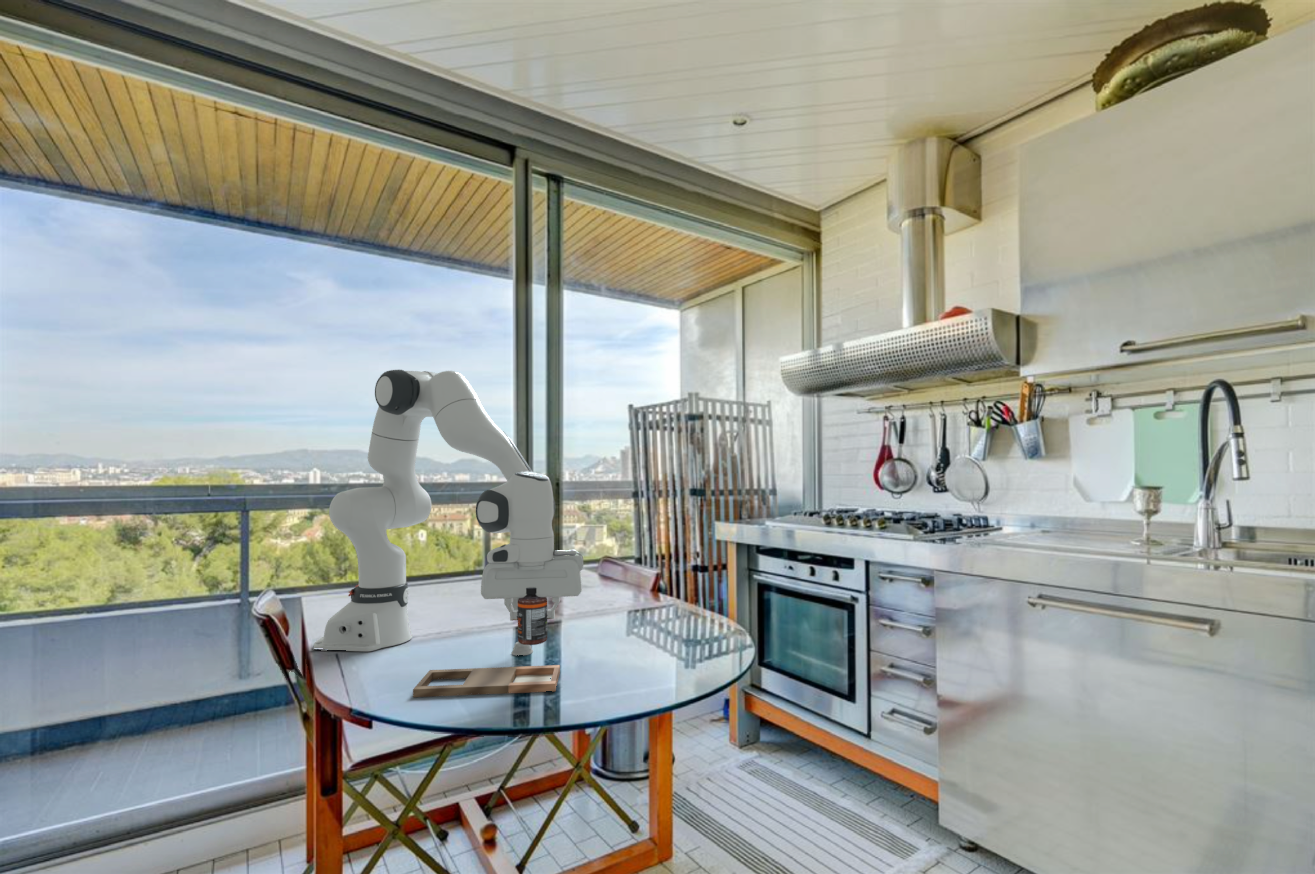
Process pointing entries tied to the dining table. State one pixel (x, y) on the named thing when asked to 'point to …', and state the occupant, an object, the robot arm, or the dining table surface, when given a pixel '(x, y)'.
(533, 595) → the supplement bottle
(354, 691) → the dining table surface
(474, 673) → the wooden compartment tray
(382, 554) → the robot arm
